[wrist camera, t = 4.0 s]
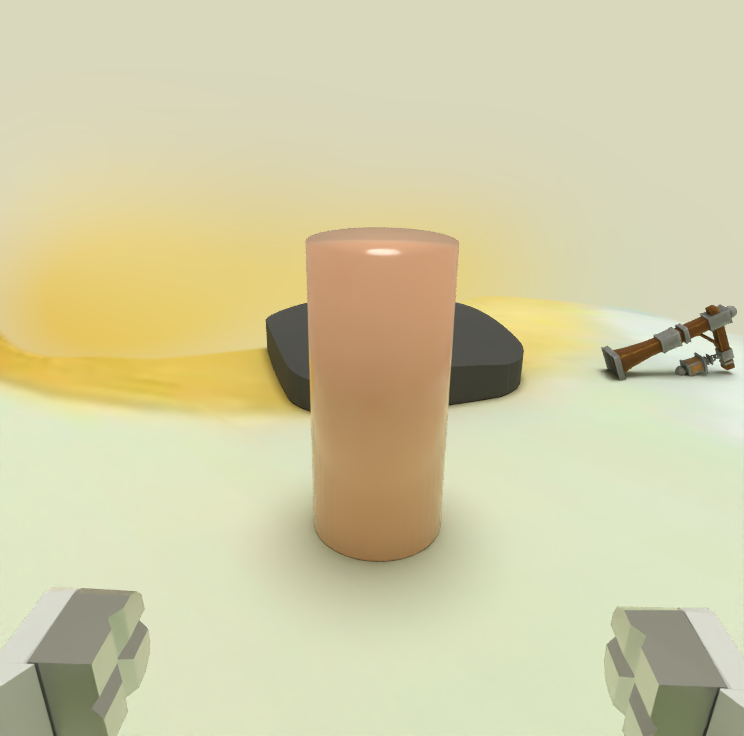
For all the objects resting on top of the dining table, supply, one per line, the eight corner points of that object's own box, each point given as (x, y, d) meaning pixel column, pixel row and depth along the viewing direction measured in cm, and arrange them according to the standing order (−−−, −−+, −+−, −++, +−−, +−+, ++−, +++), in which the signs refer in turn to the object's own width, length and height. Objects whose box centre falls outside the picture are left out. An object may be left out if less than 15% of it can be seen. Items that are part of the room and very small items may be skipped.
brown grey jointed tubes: (755, 366, 38) (742, 301, 36) (630, 415, 38) (612, 354, 37) (736, 355, 39) (724, 293, 38) (617, 403, 40) (600, 344, 38)
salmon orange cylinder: (288, 515, 24) (275, 238, 20) (380, 470, 28) (385, 222, 23) (373, 581, 21) (378, 265, 17) (467, 522, 24) (490, 242, 20)
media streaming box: (296, 431, 32) (294, 378, 30) (259, 338, 45) (256, 298, 43) (545, 398, 36) (551, 350, 34) (445, 321, 49) (447, 285, 47)
